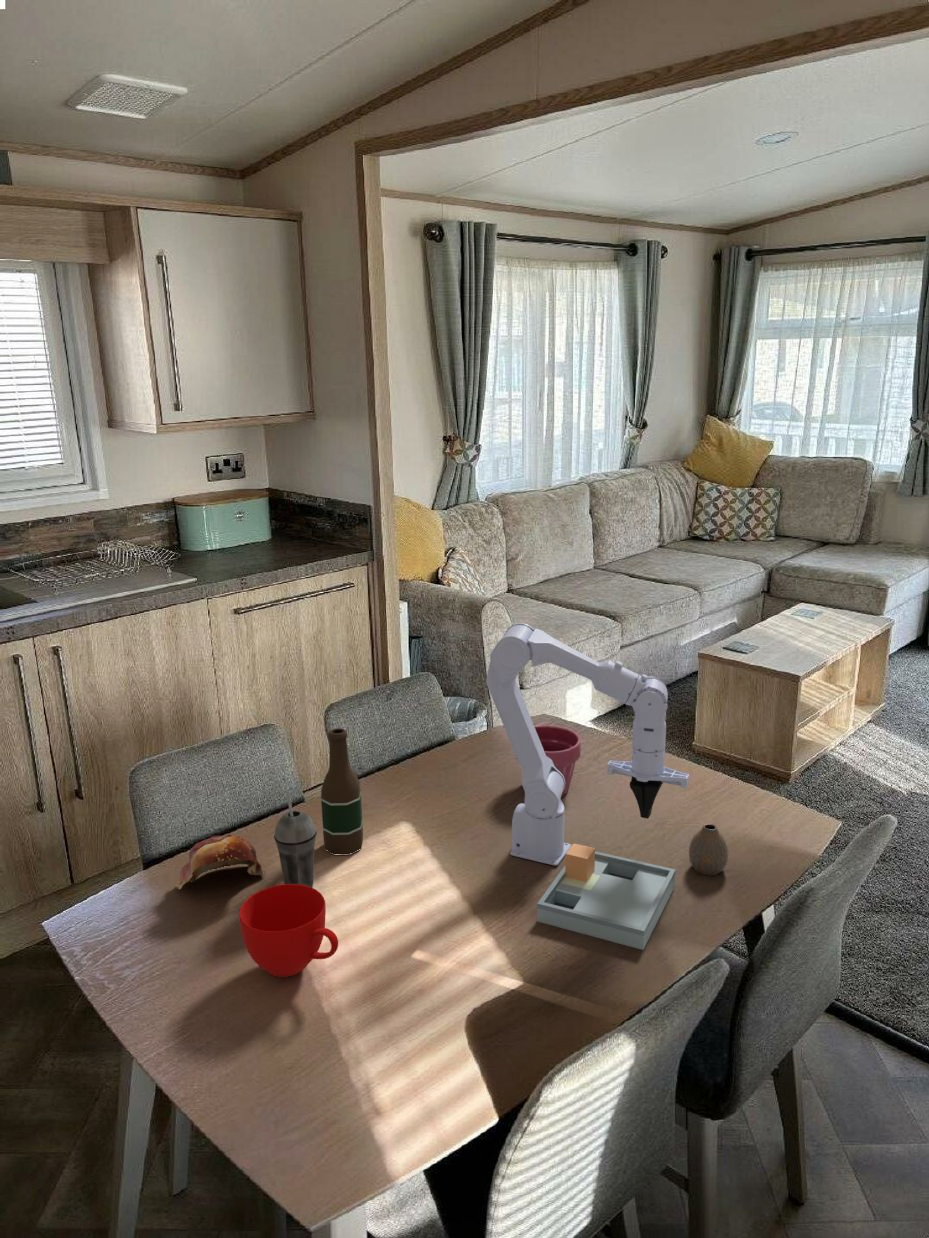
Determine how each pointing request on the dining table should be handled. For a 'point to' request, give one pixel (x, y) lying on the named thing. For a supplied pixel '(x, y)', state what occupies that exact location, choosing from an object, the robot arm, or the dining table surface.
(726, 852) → the vase
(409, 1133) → the dining table surface
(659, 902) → the box
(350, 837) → the beer bottle
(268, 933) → the ceramic cup
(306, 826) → the beverage cup
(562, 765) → the plant pot
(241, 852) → the brown arched piece
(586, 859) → the block
